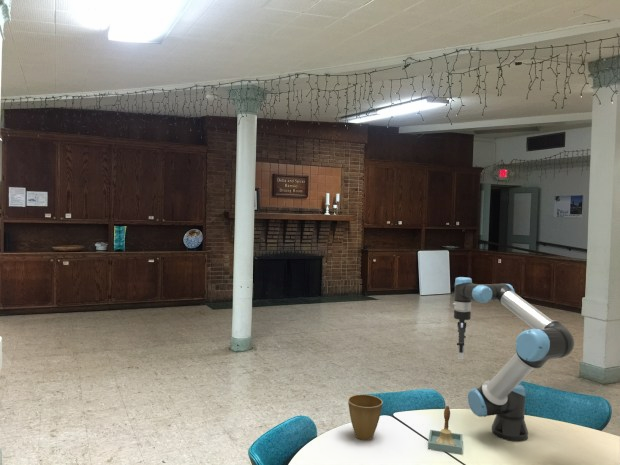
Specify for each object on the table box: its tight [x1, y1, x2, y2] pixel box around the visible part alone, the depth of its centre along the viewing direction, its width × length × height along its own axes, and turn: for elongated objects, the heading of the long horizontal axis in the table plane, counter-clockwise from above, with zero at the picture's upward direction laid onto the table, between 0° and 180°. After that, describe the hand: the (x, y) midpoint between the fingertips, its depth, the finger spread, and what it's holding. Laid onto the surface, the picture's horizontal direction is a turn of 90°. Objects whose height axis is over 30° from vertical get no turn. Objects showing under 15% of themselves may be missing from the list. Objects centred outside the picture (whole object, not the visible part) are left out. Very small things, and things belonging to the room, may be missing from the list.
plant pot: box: [347, 393, 384, 441], centre depth 222 cm, size 15×15×16 cm
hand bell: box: [436, 405, 456, 446], centre depth 216 cm, size 8×8×16 cm
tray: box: [427, 429, 463, 455], centre depth 216 cm, size 14×14×3 cm
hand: (460, 355), depth 239 cm, fingers open, 13 cm apart
